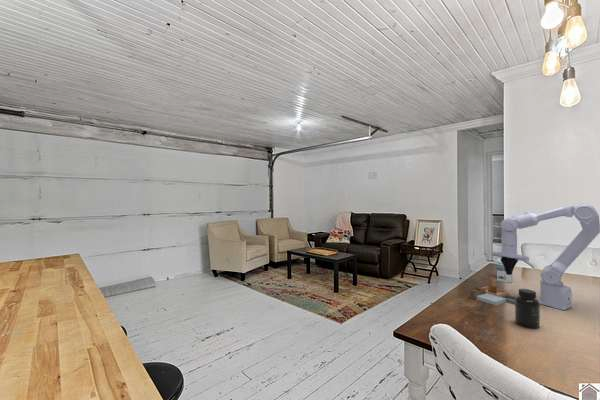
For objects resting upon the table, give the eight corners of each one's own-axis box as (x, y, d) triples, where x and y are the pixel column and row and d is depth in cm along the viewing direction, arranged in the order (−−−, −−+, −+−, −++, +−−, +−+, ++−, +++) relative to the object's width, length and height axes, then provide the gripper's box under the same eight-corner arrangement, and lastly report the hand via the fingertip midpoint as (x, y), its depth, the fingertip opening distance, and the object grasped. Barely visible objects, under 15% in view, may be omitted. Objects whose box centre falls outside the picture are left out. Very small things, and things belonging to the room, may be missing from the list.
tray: (508, 295, 131) (508, 291, 131) (498, 299, 126) (498, 294, 126) (487, 289, 139) (487, 286, 139) (476, 292, 134) (476, 289, 134)
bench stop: (485, 296, 129) (485, 286, 129) (475, 299, 126) (475, 289, 125) (480, 295, 131) (480, 285, 131) (470, 298, 127) (470, 288, 127)
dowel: (498, 293, 131) (498, 278, 131) (493, 294, 130) (493, 279, 130) (491, 291, 134) (491, 276, 134) (486, 292, 133) (487, 277, 133)
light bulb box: (512, 283, 149) (512, 263, 148) (496, 281, 153) (496, 261, 152) (512, 278, 157) (512, 259, 157) (497, 276, 161) (497, 257, 161)
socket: (523, 301, 123) (523, 298, 123) (514, 304, 120) (514, 301, 120) (505, 296, 129) (505, 293, 129) (496, 299, 126) (496, 296, 126)
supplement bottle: (537, 322, 102) (537, 289, 102) (541, 330, 96) (541, 295, 96) (513, 318, 106) (513, 286, 106) (516, 326, 100) (516, 292, 100)
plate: (506, 303, 122) (506, 298, 122) (495, 306, 119) (495, 301, 119) (486, 297, 130) (486, 293, 130) (476, 300, 126) (476, 296, 126)
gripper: (532, 246, 125) (532, 276, 125) (496, 241, 138) (496, 269, 138) (524, 247, 122) (524, 279, 122) (488, 243, 135) (488, 271, 135)
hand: (509, 274), depth 130 cm, fingers closed
